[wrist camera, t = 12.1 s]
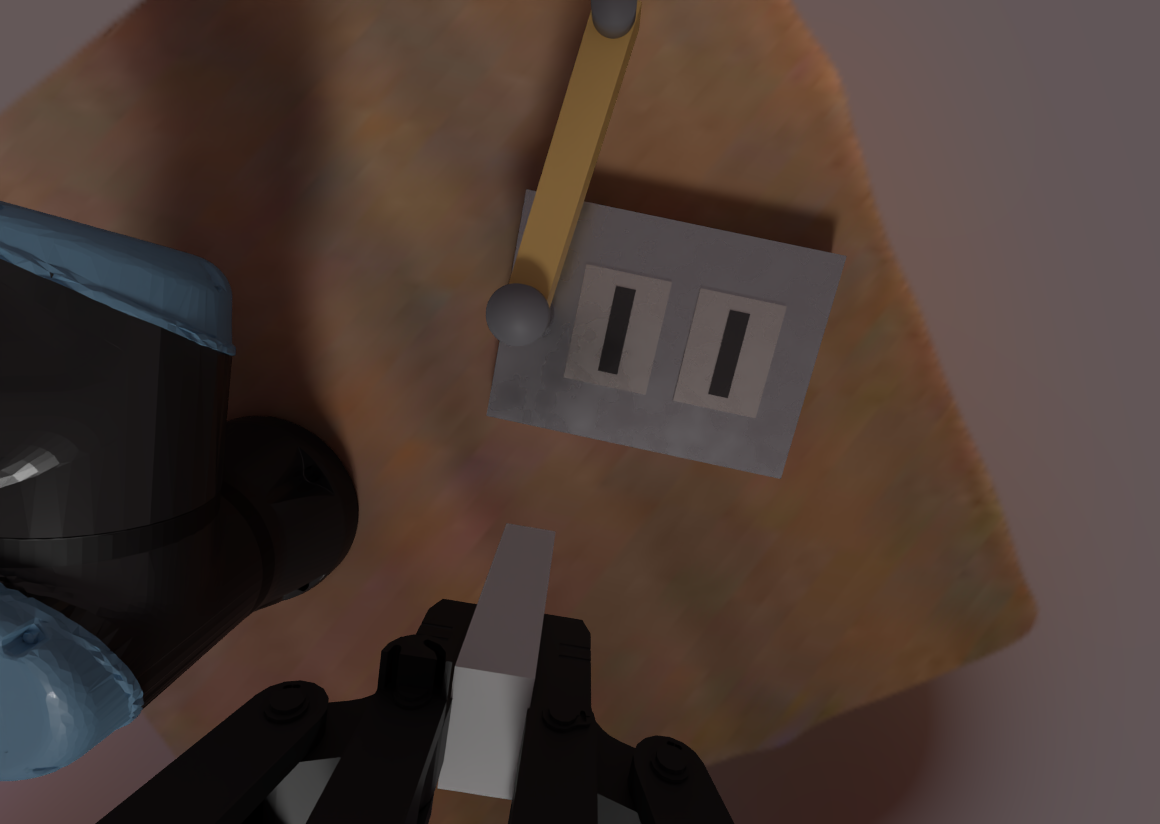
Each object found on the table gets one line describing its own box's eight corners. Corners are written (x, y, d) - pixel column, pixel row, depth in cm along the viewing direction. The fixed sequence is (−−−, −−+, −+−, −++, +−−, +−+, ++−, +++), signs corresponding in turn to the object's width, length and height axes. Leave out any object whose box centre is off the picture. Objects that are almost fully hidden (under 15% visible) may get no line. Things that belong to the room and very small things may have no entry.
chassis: (493, 409, 43) (479, 421, 38) (531, 196, 39) (521, 182, 35) (770, 468, 42) (789, 488, 38) (831, 259, 39) (860, 253, 35)
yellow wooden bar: (545, 348, 37) (536, 354, 32) (494, 330, 36) (478, 334, 32) (649, 28, 33) (655, -16, 28) (591, 8, 32) (588, -39, 28)
